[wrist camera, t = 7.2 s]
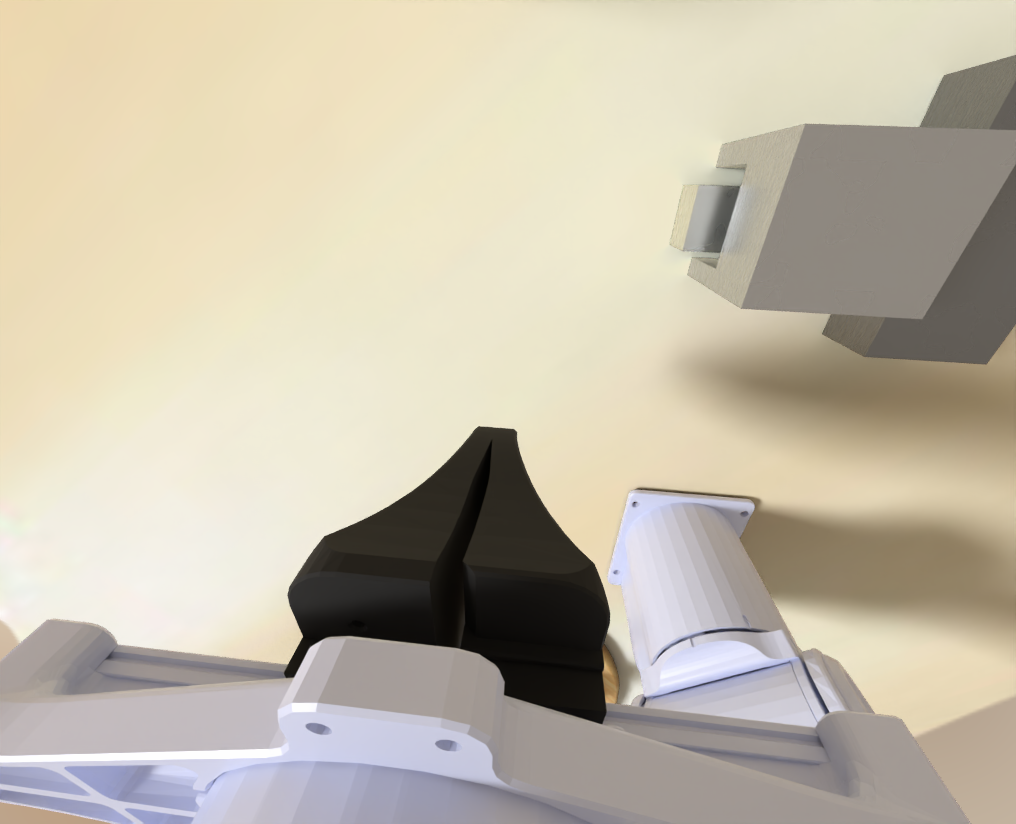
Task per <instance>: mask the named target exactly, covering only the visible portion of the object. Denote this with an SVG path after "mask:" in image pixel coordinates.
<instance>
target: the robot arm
mask: <svg viewBox="0 0 1016 824" xmlns="http://www.w3.org/2000/svg"><path fill="white" fill-rule="evenodd" d="M633 502H637V503H633ZM754 509H755V505H754V503H753V502H752V501H751V500H750V499H742V498H731V497H719V496H707V495H695V494H684V493H672V492H660V491H648V490H633V491H631V492H630V493H629V495H628V498H627V502H626V506H625V510H624V514H623V518H622V521H621V525H620V529H619V533H618V537H617V541H616V545H615V548H614V552H613V556H612V560H611V564H610V568H609V571H608V575H607V579H608V582H609V583H611V584H615V585H621V588H622V594H623V599H624V604H625V610H626V615H627V621H628V626H629V632H630V637H631V642H632V648H633V653H634V658H635V662H636V665H637V667H638V670H639V672H640V676H641V681H642V686H643V692H644V694H641V695H638V696H636V697H635V699H634V700H633V701H632V704H631V705H622V704H614V703H606V700H605V691H604V682H603V673H602V672H603V671H604V658H603V649H602V648H603V645H604V641H605V638H606V634H607V631H608V628H609V624H610V610H609V605H608V601H607V597H606V594H605V590H604V587H603V585H602V582H601V579H600V576H599V574H598V571H597V569H596V567H595V564H594V563H593V562H592V561H591V560H590V559H589V558H588V557H587V556H586V555H585V554H584V553H582V552H581V551H580V550H579V549H578V548H577V547H576V546H575V544H574V543H573V542H572V541H571V540H570V539H569V538H568V537H567V535H566V534H565V533H564V532H563V531H562V529H561V528H560V527H559V525H558V524H557V523H556V521H555V520H554V519H553V518H552V516H551V515H550V513H549V512H548V510H547V509H546V507H545V506H544V504H543V503H542V501H541V499H540V498H539V496H538V494H537V492H536V490H535V489H534V487H533V485H532V483H531V480H530V478H529V476H528V474H527V471H526V469H525V466H524V463H523V461H522V458H521V455H520V451H519V447H518V443H517V432H516V431H515V430H514V429H506V428H493V427H480V426H478V427H477V428H476V429H475V430H474V431H473V433H472V434H471V435H470V437H469V438H468V439H467V440H466V441H465V443H464V444H463V445H462V446H461V447H460V448H459V449H458V450H457V451H456V453H455V454H454V455H453V456H452V457H451V458H450V459H449V460H448V461H447V462H446V463H445V464H444V465H443V466H442V467H441V468H440V469H438V470H437V471H436V472H435V473H434V474H433V475H432V476H431V477H430V478H428V479H427V480H426V481H425V482H424V483H422V484H421V485H420V486H418V487H417V488H416V489H414V490H413V491H412V492H410V493H409V494H407V495H406V496H404V497H403V498H401V499H399V500H398V501H396V502H395V503H393V504H392V505H390V506H388V507H386V508H385V509H383V510H381V511H379V512H377V513H376V514H374V515H372V516H370V517H368V518H366V519H364V520H362V521H359V522H357V523H355V524H353V525H350V526H348V527H346V528H343V529H341V530H339V531H336V532H334V533H332V534H329V535H326V536H324V537H323V539H322V540H321V542H320V543H319V544H318V545H317V546H316V548H315V549H314V550H313V552H312V553H311V554H310V556H309V557H308V559H307V560H306V562H305V563H304V565H303V567H302V568H301V570H300V571H299V573H298V574H297V576H296V577H295V579H294V581H293V582H292V584H291V585H290V587H289V591H288V599H289V604H290V607H291V609H292V612H293V614H294V616H295V619H296V621H297V623H298V626H299V628H300V630H301V632H302V635H303V638H302V640H301V642H300V644H299V645H298V647H297V649H296V651H295V653H294V655H293V656H292V658H291V660H290V662H289V664H288V665H286V664H277V663H269V662H261V661H252V660H244V659H235V658H227V657H219V656H210V655H202V654H193V653H185V652H176V651H168V650H160V649H151V648H143V647H134V646H126V645H118V644H117V641H116V639H115V638H114V636H113V635H112V634H111V633H110V632H109V631H108V630H107V629H105V628H103V627H101V626H99V625H96V624H92V623H86V622H77V621H69V620H60V619H50V620H46V621H45V622H44V623H43V624H42V625H41V626H40V627H38V628H37V629H36V630H35V631H34V632H33V633H31V634H30V635H29V636H28V637H27V638H26V639H24V640H23V641H22V642H21V643H20V644H19V645H18V646H16V647H15V648H14V649H13V650H12V651H11V652H10V653H8V654H7V655H6V656H5V657H4V658H3V659H1V660H0V802H4V803H10V804H16V805H22V806H29V807H34V808H39V809H44V810H50V811H55V812H60V813H66V814H71V815H75V816H80V817H85V818H89V819H94V820H99V821H103V822H108V823H112V824H971V823H970V821H969V820H968V818H967V817H966V815H965V814H964V812H963V811H962V809H961V808H960V806H959V805H958V803H957V802H956V800H955V799H954V797H953V796H952V794H951V793H950V792H949V790H948V788H947V787H946V785H945V784H944V783H943V781H942V780H941V778H940V776H939V775H938V773H937V772H936V770H935V769H934V767H933V766H932V764H931V763H930V761H929V760H928V758H927V757H926V755H925V754H924V752H923V751H922V749H921V748H920V746H919V745H918V743H917V742H916V740H915V739H914V737H913V736H912V734H911V733H910V731H909V730H908V728H907V727H906V725H905V724H904V722H903V721H902V719H900V718H898V717H896V716H889V715H881V714H875V713H874V711H873V710H872V708H871V707H870V705H869V704H868V702H867V701H866V699H865V698H864V696H863V695H862V693H861V692H860V690H859V689H858V687H857V686H856V684H855V683H854V681H853V680H852V679H851V677H850V676H849V674H848V673H847V672H846V670H845V669H844V668H843V666H842V665H841V664H840V663H839V662H838V661H837V660H835V659H833V658H831V657H829V656H827V655H823V654H822V653H821V652H820V651H819V650H817V649H814V648H812V649H811V650H807V651H803V652H802V651H801V649H800V648H799V647H798V646H797V644H796V642H795V640H794V638H793V636H792V635H791V633H790V631H789V629H788V627H787V625H786V624H785V622H784V620H783V618H782V616H781V614H780V613H779V611H778V609H777V607H776V605H775V603H774V602H773V600H772V598H771V596H770V594H769V592H768V591H767V589H766V587H765V585H764V583H763V581H762V580H761V578H760V576H759V574H758V572H757V570H756V569H755V567H754V565H753V563H752V561H751V559H750V558H749V556H748V554H747V552H746V550H745V548H744V547H743V545H742V543H741V541H740V537H741V535H742V533H743V531H744V529H745V527H746V525H747V523H748V521H749V519H750V517H751V515H752V513H753V511H754ZM743 511H744V512H743Z"/></svg>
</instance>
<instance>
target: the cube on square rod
mask: <svg viewBox="0 0 1016 824" xmlns="http://www.w3.org/2000/svg"><path fill="white" fill-rule="evenodd" d="M1015 164H1016V130H990V129H957V128H925V127H893V126H860V125H828V124H803V125H799V126H795V127H791V128H787V129H783V130H778V131H774V132H770V133H766V134H762V135H758V136H754V137H750V138H746V139H742V140H738V141H734V142H730V143H726V144H722V146H721V149H720V153H719V157H718V161H717V165H716V167H720V168H746V170H745V173H744V176H743V180H742V183H741V186H740V190H739V193H738V196H737V200H736V203H735V206H734V210H733V213H732V216H731V220H730V223H729V226H728V230H727V233H726V236H725V240H724V243H723V246H722V250H721V253H720V256H719V259H715V258H695V257H692V259H691V263H690V266H689V270H688V274H687V275H688V276H690V277H691V278H693V279H695V280H696V281H698V282H699V283H701V284H703V285H704V286H706V287H707V288H709V289H711V290H712V291H714V292H715V293H717V294H719V295H720V296H722V297H723V298H725V299H726V300H728V301H730V302H731V303H733V304H734V305H736V306H738V307H739V308H741V309H756V310H773V311H790V312H807V313H824V314H841V315H858V316H875V317H892V318H909V319H923V317H924V316H925V314H926V312H927V311H928V309H929V307H930V306H931V304H932V302H933V301H934V299H935V297H936V296H937V294H938V292H939V291H940V289H941V287H942V286H943V284H944V282H945V281H946V279H947V277H948V276H949V274H950V272H951V271H952V269H953V267H954V266H955V264H956V262H957V261H958V259H959V257H960V256H961V254H962V253H963V251H964V249H965V248H966V246H967V244H968V243H969V241H970V239H971V238H972V236H973V234H974V233H975V231H976V229H977V228H978V226H979V224H980V223H981V221H982V219H983V218H984V216H985V214H986V213H987V211H988V209H989V208H990V206H991V204H992V203H993V201H994V199H995V198H996V196H997V194H998V193H999V191H1000V189H1001V188H1002V186H1003V184H1004V183H1005V181H1006V179H1007V178H1008V176H1009V174H1010V173H1011V171H1012V169H1013V168H1014V166H1015Z"/></svg>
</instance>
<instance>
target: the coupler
mask: <svg viewBox="0 0 1016 824" xmlns="http://www.w3.org/2000/svg"><path fill="white" fill-rule="evenodd" d="M920 127H925V128H957V129H990V130H1016V55H1014V56H1011V57H1007V58H1004V59H1000V60H997V61H993V62H990V63H986V64H983V65H979V66H976V67H972V68H968V69H965V70H961V71H958V72H954V73H951V74H947V75H944V77H943V79H942V81H941V83H940V85H939V87H938V89H937V92H936V94H935V96H934V98H933V100H932V102H931V104H930V106H929V109H928V111H927V113H926V115H925V117H924V119H923V121H922V123H921V126H920ZM739 190H740V187H739V186H713V185H683V189H682V193H681V197H680V202H679V206H678V210H677V215H676V219H675V223H674V228H673V232H672V236H671V241H670V245H671V246H673V247H675V248H677V249H680V250H682V251H696V252H716V253H721V250H722V246H723V243H724V240H725V236H726V233H727V230H728V226H729V223H730V220H731V216H732V213H733V210H734V206H735V203H736V200H737V196H738V193H739ZM1015 325H1016V164H1015V166H1014V168H1013V169H1012V171H1011V173H1010V174H1009V176H1008V178H1007V179H1006V181H1005V183H1004V184H1003V186H1002V188H1001V189H1000V191H999V193H998V194H997V196H996V198H995V199H994V201H993V203H992V204H991V206H990V208H989V209H988V211H987V213H986V214H985V216H984V218H983V219H982V221H981V223H980V224H979V226H978V228H977V229H976V231H975V233H974V234H973V236H972V238H971V239H970V241H969V243H968V244H967V246H966V248H965V249H964V251H963V253H962V254H961V256H960V257H959V259H958V261H957V262H956V264H955V266H954V267H953V269H952V271H951V272H950V274H949V276H948V277H947V279H946V281H945V282H944V284H943V286H942V287H941V289H940V291H939V292H938V294H937V296H936V297H935V299H934V301H933V302H932V304H931V306H930V307H929V309H928V311H927V312H926V314H925V316H924V317H923V319H909V318H892V317H875V316H858V315H841V314H831V316H830V318H829V321H828V323H827V325H826V327H825V329H824V331H823V333H822V334H823V335H825V336H827V337H828V338H830V339H832V340H834V341H836V342H838V343H840V344H841V345H843V346H845V347H847V348H849V349H851V350H853V351H855V352H856V353H858V354H860V355H862V356H864V357H877V358H893V359H909V360H925V361H941V362H957V363H973V364H987V363H988V361H989V360H990V359H991V357H992V356H993V355H994V353H995V352H996V351H997V349H998V348H999V346H1000V345H1001V344H1002V342H1003V341H1004V340H1005V338H1006V337H1007V335H1008V334H1009V333H1010V331H1011V330H1012V329H1013V327H1014V326H1015Z"/></svg>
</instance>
